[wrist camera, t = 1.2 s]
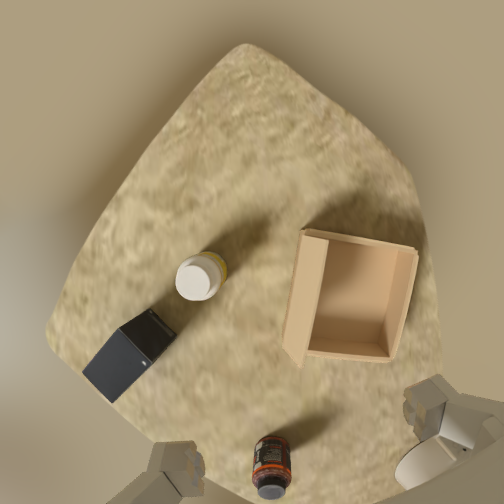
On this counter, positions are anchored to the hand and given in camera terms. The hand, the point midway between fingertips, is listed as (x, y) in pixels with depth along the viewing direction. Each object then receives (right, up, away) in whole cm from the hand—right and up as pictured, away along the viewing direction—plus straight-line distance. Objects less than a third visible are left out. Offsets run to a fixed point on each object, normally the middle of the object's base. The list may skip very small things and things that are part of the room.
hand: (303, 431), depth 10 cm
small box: (-19, -7, +35) cm, 41 cm away
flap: (+4, +1, +24) cm, 24 cm away
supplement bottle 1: (-8, +4, +34) cm, 35 cm away
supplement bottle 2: (+2, -27, +36) cm, 45 cm away
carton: (+11, +1, +33) cm, 34 cm away
